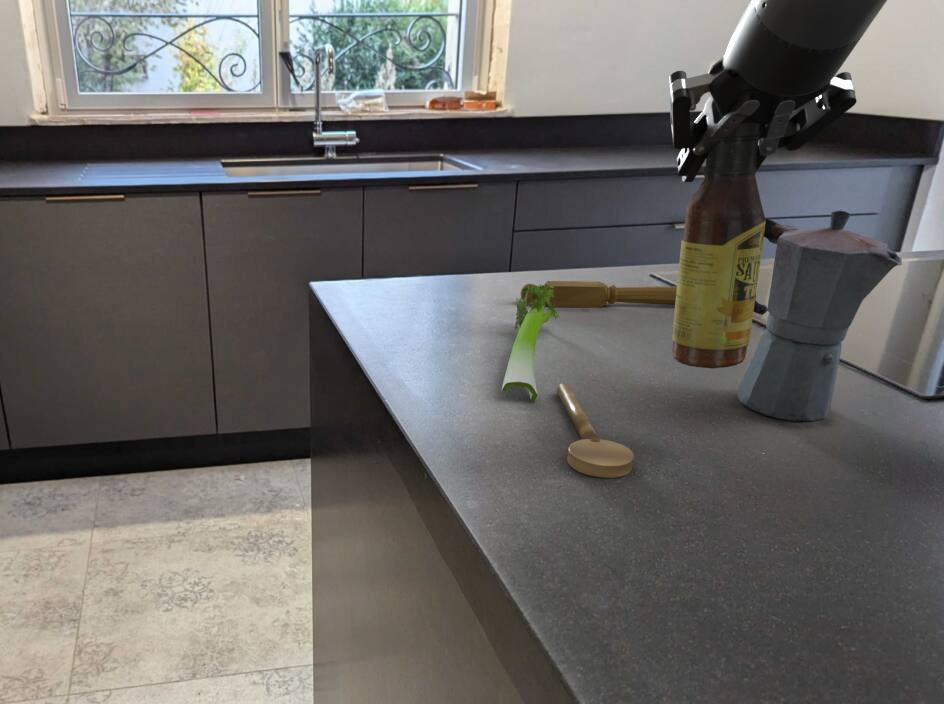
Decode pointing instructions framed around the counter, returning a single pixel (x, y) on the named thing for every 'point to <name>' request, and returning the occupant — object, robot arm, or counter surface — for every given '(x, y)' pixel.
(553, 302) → the tap handle
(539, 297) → the celery stalk
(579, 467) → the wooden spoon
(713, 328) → the sauce bottle
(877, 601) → the counter surface
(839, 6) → the robot arm
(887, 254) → the moka pot
